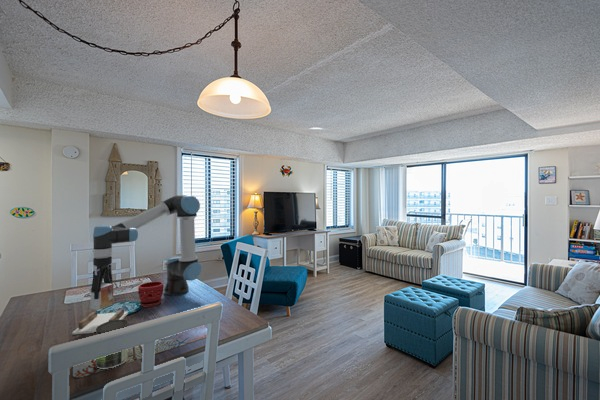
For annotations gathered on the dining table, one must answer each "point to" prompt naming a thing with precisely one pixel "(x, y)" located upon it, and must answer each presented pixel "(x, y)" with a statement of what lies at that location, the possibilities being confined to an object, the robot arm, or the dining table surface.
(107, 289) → the small box
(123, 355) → the coffee can
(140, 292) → the plant pot
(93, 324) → the holder
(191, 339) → the dining table surface
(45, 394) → the dining table surface
